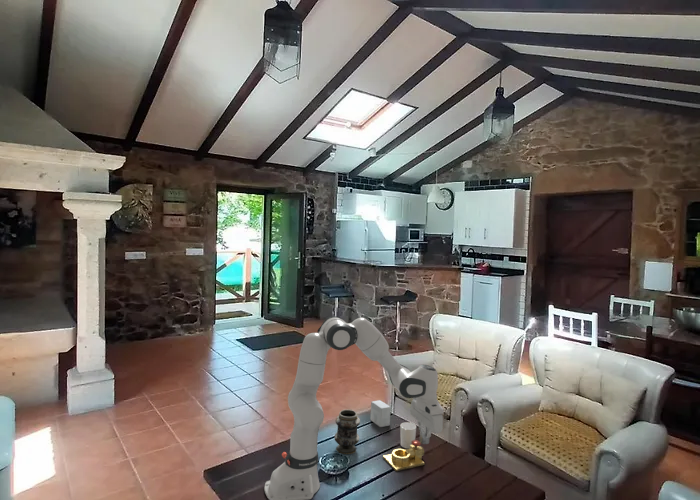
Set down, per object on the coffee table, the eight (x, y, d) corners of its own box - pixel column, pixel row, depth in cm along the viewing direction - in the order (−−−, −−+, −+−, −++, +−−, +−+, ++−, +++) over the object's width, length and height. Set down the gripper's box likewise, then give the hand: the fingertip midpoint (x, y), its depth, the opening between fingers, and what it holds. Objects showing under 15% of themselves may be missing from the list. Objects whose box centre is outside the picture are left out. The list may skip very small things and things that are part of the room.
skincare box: (390, 425, 239) (391, 406, 239) (380, 427, 236) (381, 408, 236) (379, 417, 249) (380, 399, 248) (369, 419, 245) (370, 401, 245)
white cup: (397, 446, 217) (397, 426, 216) (402, 439, 224) (403, 420, 223) (412, 451, 213) (413, 431, 212) (417, 444, 220) (418, 424, 219)
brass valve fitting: (395, 471, 195) (396, 454, 194) (382, 457, 206) (383, 441, 205) (428, 463, 202) (429, 447, 202) (414, 451, 213) (415, 435, 212)
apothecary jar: (358, 456, 206) (360, 419, 205) (333, 455, 206) (334, 417, 205) (358, 443, 218) (360, 408, 217) (334, 442, 218) (335, 407, 217)
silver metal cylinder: (422, 444, 189) (424, 422, 188) (417, 440, 193) (419, 418, 192) (430, 443, 190) (432, 420, 190) (425, 439, 194) (426, 416, 194)
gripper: (407, 394, 199) (406, 424, 199) (433, 413, 180) (431, 446, 181) (419, 393, 201) (417, 422, 202) (446, 411, 183) (444, 443, 183)
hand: (424, 433), depth 191 cm, fingers closed on silver metal cylinder, 4 cm apart
